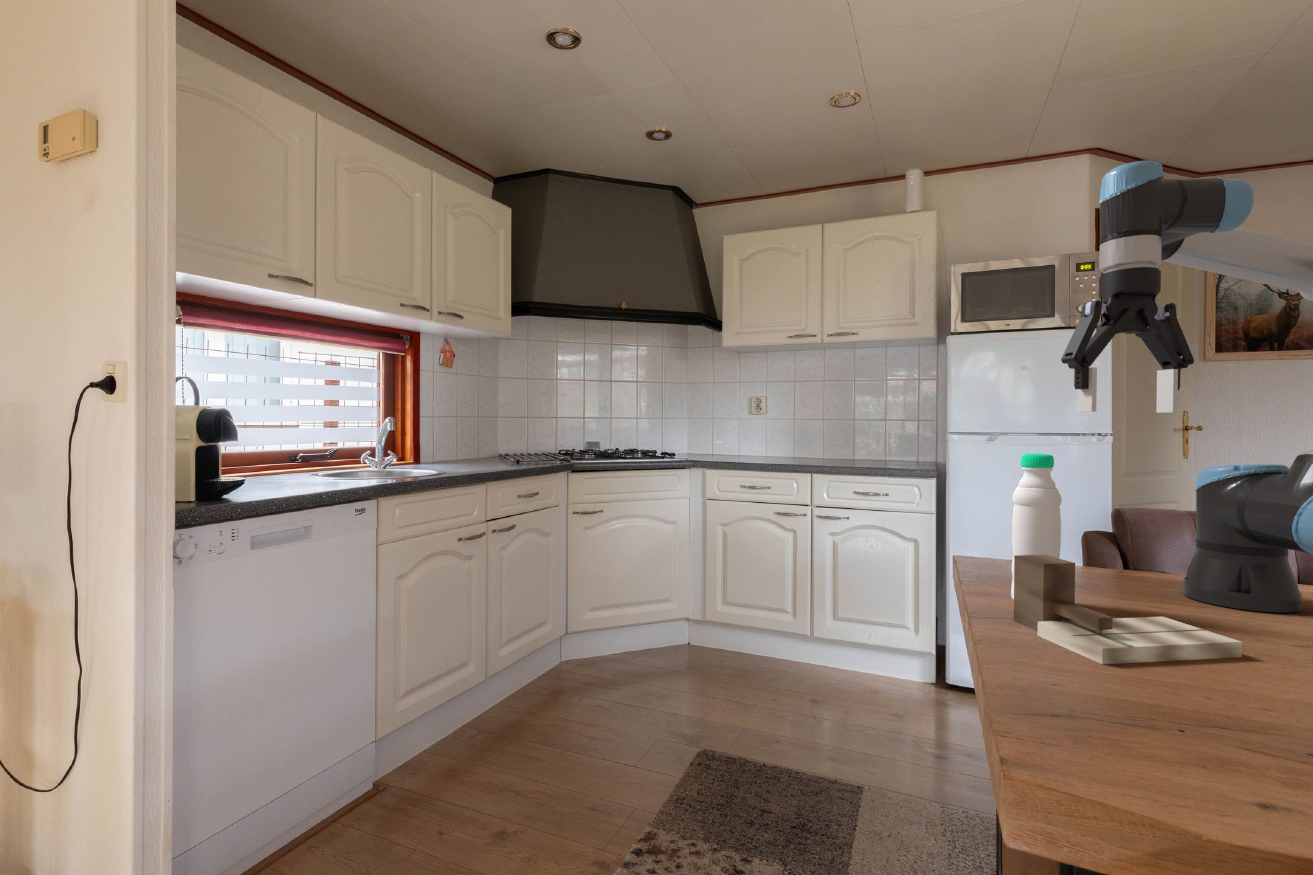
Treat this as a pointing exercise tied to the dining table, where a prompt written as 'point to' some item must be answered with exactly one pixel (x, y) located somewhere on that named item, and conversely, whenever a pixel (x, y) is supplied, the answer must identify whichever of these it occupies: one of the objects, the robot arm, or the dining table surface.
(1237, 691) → the dining table surface
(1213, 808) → the dining table surface
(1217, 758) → the dining table surface
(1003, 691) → the dining table surface
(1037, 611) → the block with long handle
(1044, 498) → the water bottle
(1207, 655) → the board
